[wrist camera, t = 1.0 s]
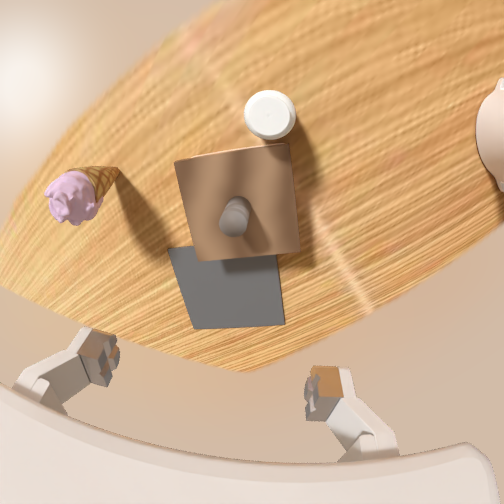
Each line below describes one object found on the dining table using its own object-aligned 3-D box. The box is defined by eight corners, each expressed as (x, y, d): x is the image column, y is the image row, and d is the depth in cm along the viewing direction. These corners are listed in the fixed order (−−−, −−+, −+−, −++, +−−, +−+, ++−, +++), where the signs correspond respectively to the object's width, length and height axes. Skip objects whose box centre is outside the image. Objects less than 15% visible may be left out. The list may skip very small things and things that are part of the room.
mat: (273, 237, 42) (273, 238, 42) (284, 323, 50) (284, 324, 49) (168, 248, 45) (167, 249, 44) (194, 327, 52) (194, 329, 52)
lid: (288, 143, 31) (290, 151, 26) (300, 248, 37) (303, 273, 32) (176, 160, 33) (157, 172, 28) (199, 257, 39) (188, 283, 34)
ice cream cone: (143, 164, 39) (83, 200, 25) (128, 201, 41) (71, 247, 28) (106, 145, 37) (38, 172, 24) (94, 181, 40) (30, 219, 27)
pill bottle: (282, 140, 36) (283, 152, 27) (243, 123, 35) (231, 130, 27) (300, 103, 33) (307, 103, 25) (260, 86, 33) (254, 79, 24)
